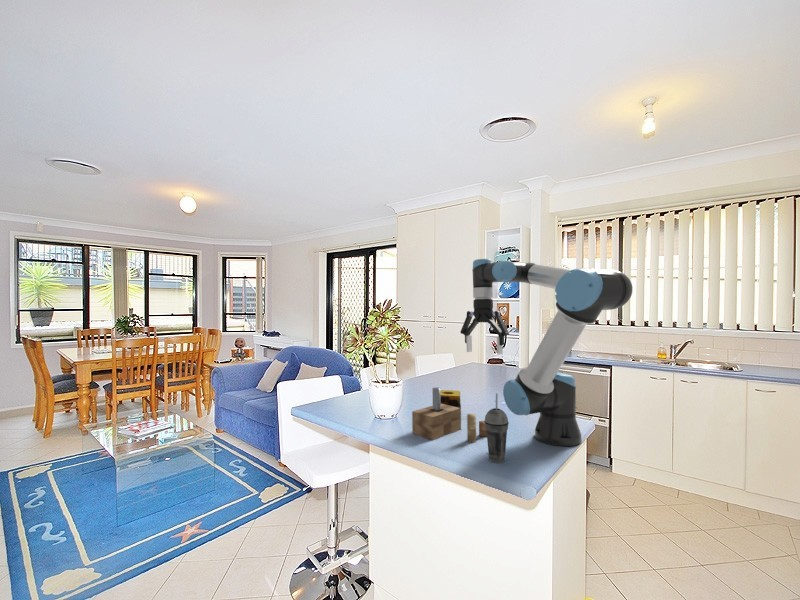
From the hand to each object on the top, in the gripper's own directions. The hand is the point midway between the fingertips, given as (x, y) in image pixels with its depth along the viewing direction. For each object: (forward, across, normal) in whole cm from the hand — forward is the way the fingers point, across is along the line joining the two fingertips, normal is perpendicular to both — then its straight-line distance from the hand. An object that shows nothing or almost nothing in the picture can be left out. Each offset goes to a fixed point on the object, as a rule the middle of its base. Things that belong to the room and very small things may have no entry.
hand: (484, 352), depth 152 cm
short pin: (+28, -6, +11) cm, 31 cm away
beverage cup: (+29, -20, +27) cm, 44 cm away
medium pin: (+28, -5, +18) cm, 34 cm away
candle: (+28, +18, 0) cm, 33 cm away
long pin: (+28, +10, +18) cm, 35 cm away
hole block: (+28, +10, +18) cm, 35 cm away
